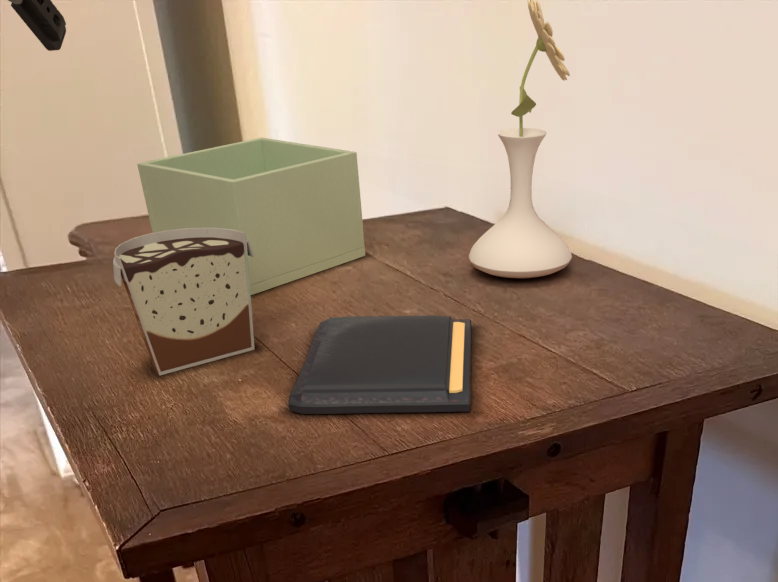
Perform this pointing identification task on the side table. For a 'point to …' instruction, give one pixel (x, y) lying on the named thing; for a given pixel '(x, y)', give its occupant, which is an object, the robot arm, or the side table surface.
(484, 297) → the side table surface
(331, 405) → the wallet
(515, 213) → the flower in vase
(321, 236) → the bin
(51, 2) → the robot arm
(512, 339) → the side table surface
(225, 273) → the food container
